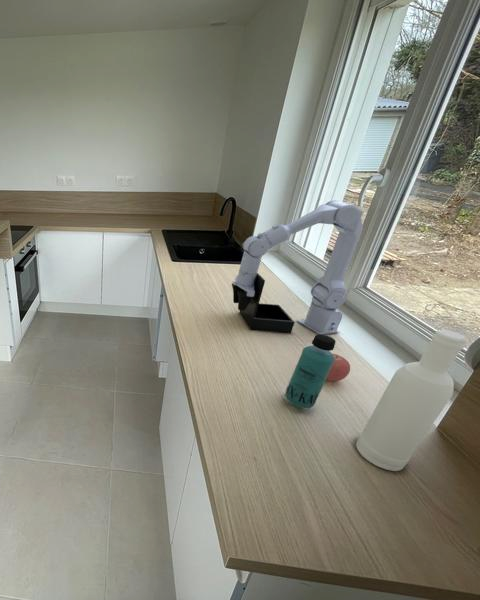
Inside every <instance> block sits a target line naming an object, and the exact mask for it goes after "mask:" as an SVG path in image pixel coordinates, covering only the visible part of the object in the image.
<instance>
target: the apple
mask: <svg viewBox="0 0 480 600" xmlns="http://www.w3.org/2000/svg"><path fill="white" fill-rule="evenodd" d="M332 354H333V356H334V358H335V361H334V362H333V364H332V367H331V369H330V371H329V373H328V375H327V378H326V381H330V382H340V381H342V380H344V379H346V378H347V377H348V375H349V374H350V372H351V364H350V362H349V360H347V359H346V358H345V357H343V356H342V355H340V354H336V353H332Z"/></svg>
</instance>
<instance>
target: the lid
mask: <svg viewBox="0 0 480 600" xmlns="http://www.w3.org/2000/svg"><path fill="white" fill-rule="evenodd" d="M265 282H266V280H265V279H264V278H263V277H262V276H261V274H260V273H258V272H257V276H256V279H255V283H254V285H255V286H254V291H255V295H256V297H255V298H254V299H253V300H252V301H251V302H250V303H249V304H248V306H247V310H248V311H249V313H250V314H251V315H252V317H253V318H255V316H256V312H257V309H258V305H259V303H260V301H261V297H262V294H263V290H264V287H265ZM237 294H238V292H237Z"/></svg>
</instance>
